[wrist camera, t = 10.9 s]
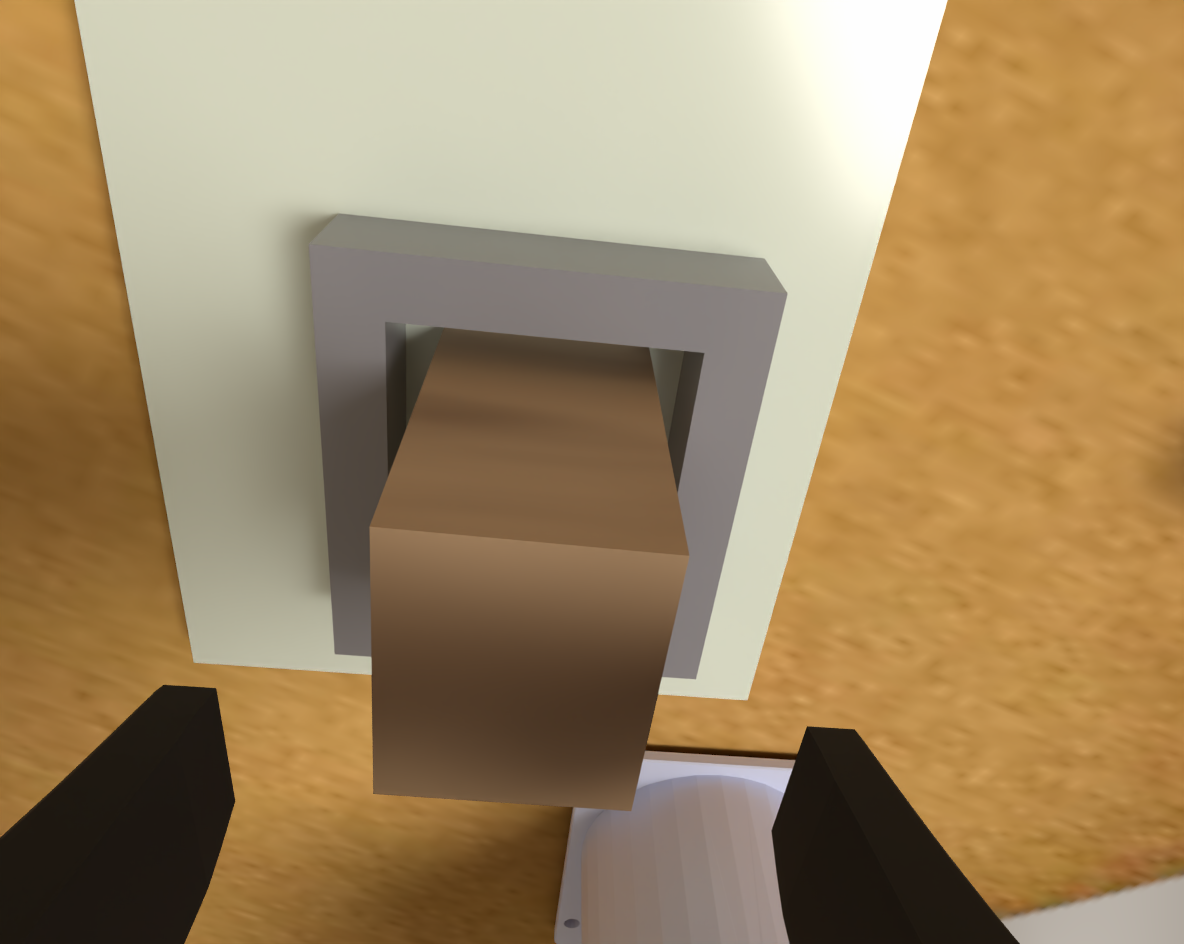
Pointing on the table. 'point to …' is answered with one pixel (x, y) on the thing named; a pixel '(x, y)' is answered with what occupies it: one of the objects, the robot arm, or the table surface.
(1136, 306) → the table surface
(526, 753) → the brown wooden block
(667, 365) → the board with square socket
